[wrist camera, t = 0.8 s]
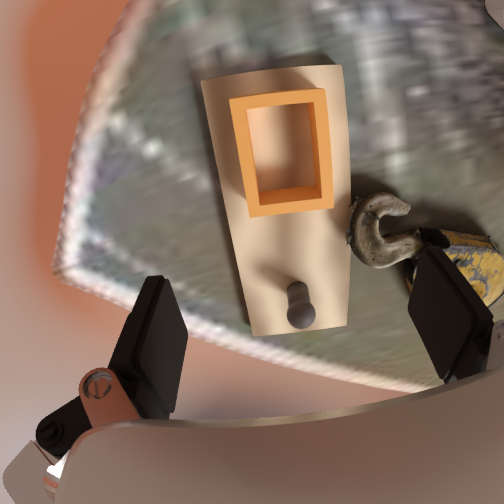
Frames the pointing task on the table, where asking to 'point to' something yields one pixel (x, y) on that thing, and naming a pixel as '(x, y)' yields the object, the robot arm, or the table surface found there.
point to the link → (321, 146)
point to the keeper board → (281, 177)
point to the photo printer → (496, 10)
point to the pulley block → (422, 246)
